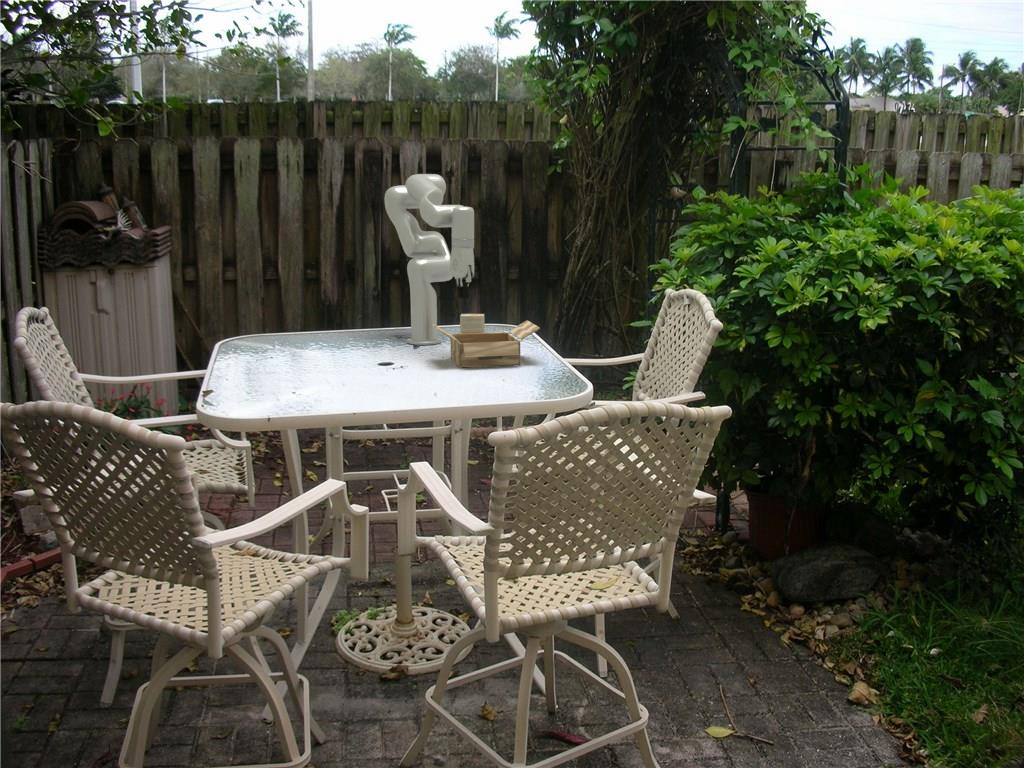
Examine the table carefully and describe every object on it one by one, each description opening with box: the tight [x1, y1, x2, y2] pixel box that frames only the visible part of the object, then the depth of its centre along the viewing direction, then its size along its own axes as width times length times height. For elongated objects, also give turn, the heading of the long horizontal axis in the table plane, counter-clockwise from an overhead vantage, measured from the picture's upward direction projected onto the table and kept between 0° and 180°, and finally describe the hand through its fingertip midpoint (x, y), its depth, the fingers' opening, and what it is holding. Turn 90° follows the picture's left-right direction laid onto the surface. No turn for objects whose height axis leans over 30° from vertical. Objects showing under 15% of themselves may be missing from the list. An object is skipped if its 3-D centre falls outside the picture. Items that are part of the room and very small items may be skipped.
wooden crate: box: [449, 332, 521, 369], centre depth 321 cm, size 17×20×8 cm
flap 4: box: [509, 319, 541, 341], centre depth 323 cm, size 16×1×7 cm
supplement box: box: [459, 313, 486, 334], centre depth 339 cm, size 8×5×13 cm, turn 84°
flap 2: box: [452, 331, 506, 335], centre depth 330 cm, size 1×18×5 cm, turn 104°
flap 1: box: [431, 323, 458, 342], centre depth 317 cm, size 16×1×7 cm
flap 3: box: [463, 341, 519, 358], centre depth 311 cm, size 1×18×5 cm, turn 103°
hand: (462, 297), depth 330 cm, fingers closed
